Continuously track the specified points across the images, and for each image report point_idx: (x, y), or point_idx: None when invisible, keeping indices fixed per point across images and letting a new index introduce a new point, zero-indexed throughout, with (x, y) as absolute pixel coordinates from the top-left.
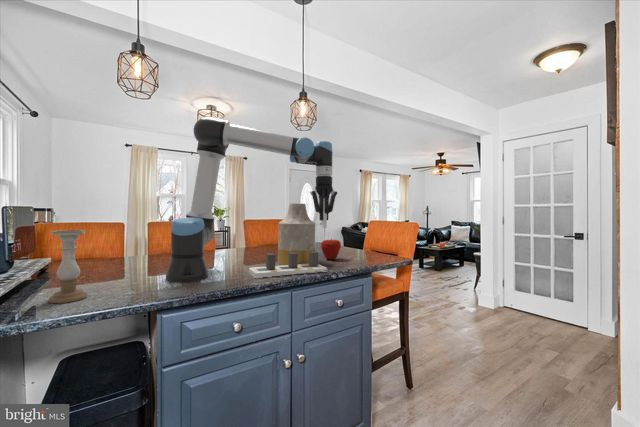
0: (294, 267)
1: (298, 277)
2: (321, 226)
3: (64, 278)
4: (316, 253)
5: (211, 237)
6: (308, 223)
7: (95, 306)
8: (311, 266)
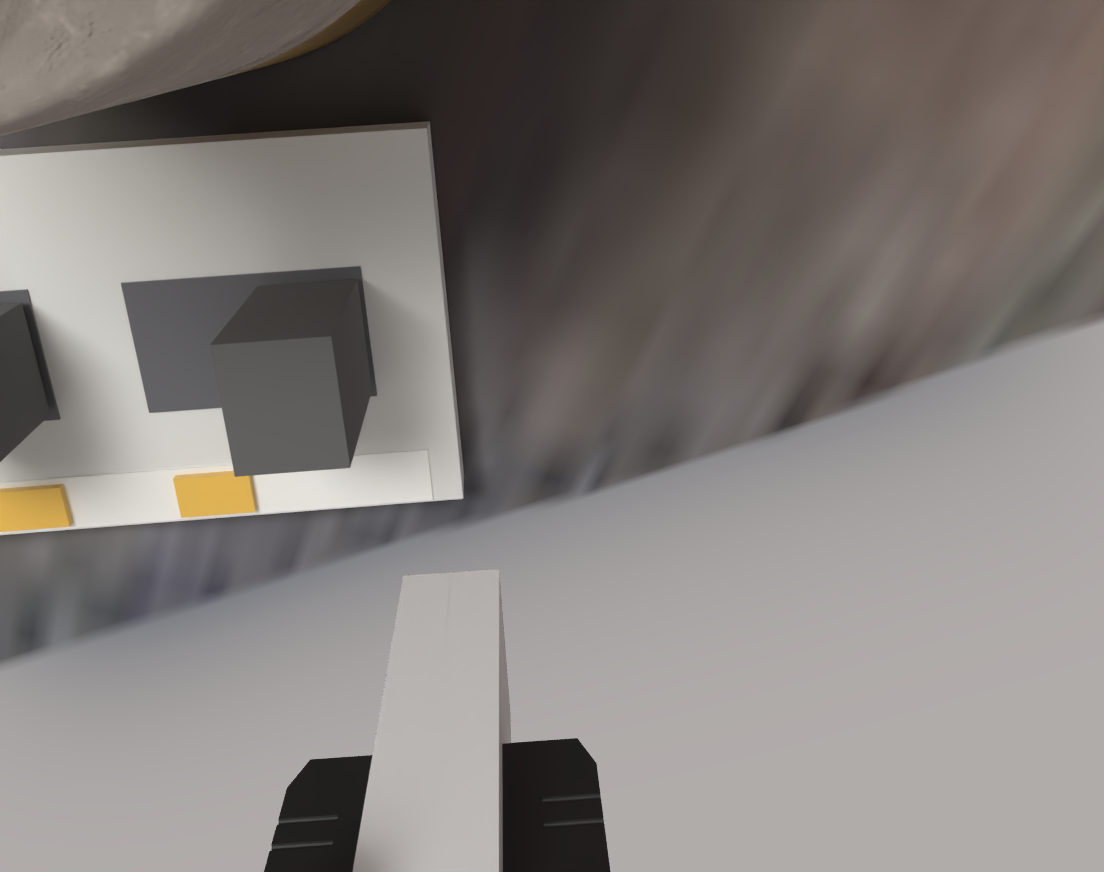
0: None
1: (59, 607)
2: (401, 607)
3: None
4: (313, 465)
5: None
6: (26, 90)
7: None
8: None
